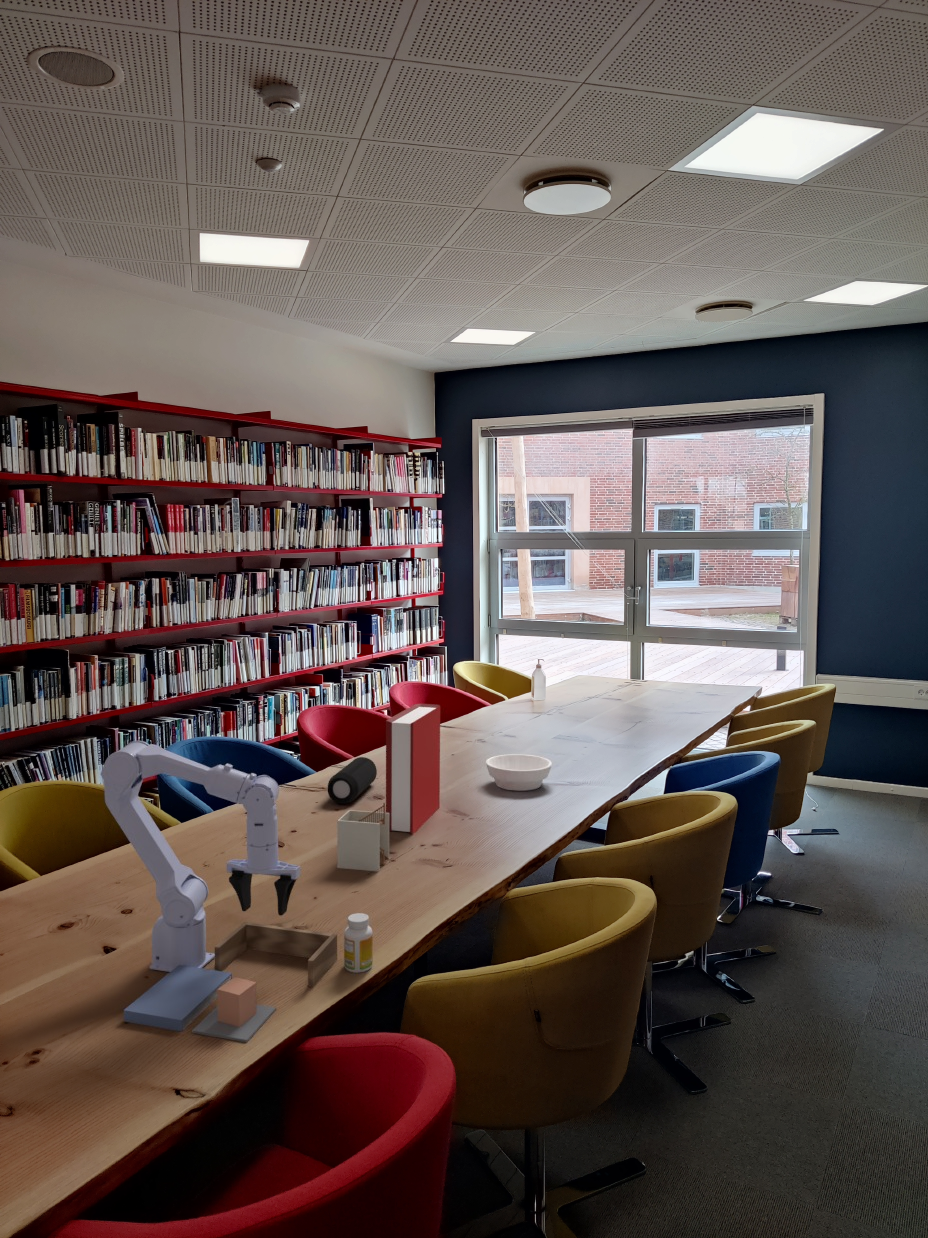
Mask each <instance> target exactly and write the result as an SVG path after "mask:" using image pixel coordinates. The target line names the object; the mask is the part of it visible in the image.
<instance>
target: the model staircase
mask: <svg viewBox="0 0 928 1238" xmlns="http://www.w3.org/2000/svg"><path fill="white" fill-rule="evenodd" d="M382 804H383V805H382V806H380V807H378V808H377V809H376V810H374V811H368V810H354V809H348V810H347V811H346V812H345V813H344V814H343V815H342V816H341V817H339V818H338V820H337V821H336V823H337V826H336V827H337V833H336V834H337V836H336V837H337V838H336V839H337V843H336V844H337V846H336V847H337V869H343V870H344V869H345V870H346V869H348V870H355V871H356V870H357V871H358V870H359V871H367V872H370V871H371V872H380V866H385V864H386V863H387V862H388V860H390V831H389V813H386V802H383V803H382Z"/></svg>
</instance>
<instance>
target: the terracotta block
mask: <svg viewBox="0 0 928 1238" xmlns="http://www.w3.org/2000/svg"><path fill="white" fill-rule="evenodd" d="M217 994H218V997H217V1006H218V1021H221V1022H224V1023H228V1024H231V1025H235V1026H238V1027H240V1026H241V1025H243V1024H244V1023H245V1022H246V1021H248V1020H249V1019H250V1018H251V1017H253V1016H254V1015H255V1014H256V1013H257V1007H256V1004H257V981H252V980H249V979H246V978H242V977H241V978H240V977H237V976H234V977H232V979H231V980H230V981H228V982H227V983H225V984H224V985H223V986H221V987H220V988H218V989H217Z"/></svg>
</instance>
